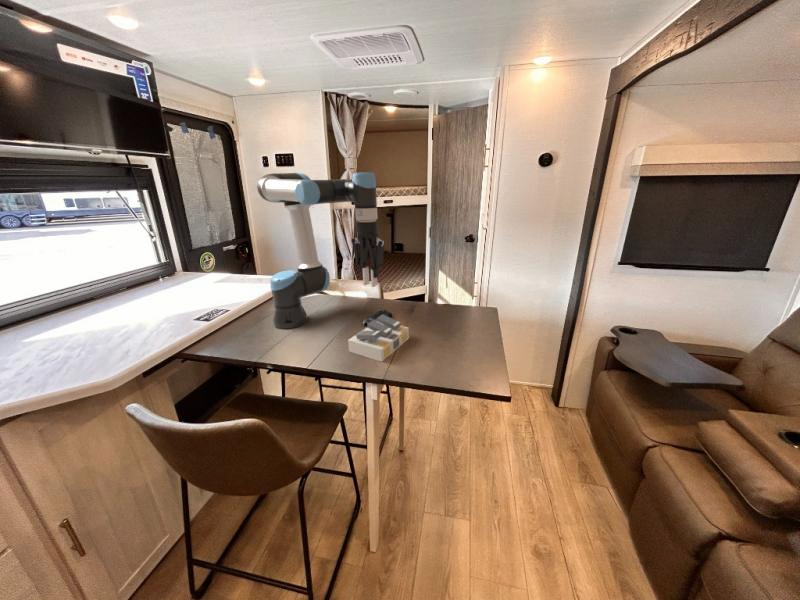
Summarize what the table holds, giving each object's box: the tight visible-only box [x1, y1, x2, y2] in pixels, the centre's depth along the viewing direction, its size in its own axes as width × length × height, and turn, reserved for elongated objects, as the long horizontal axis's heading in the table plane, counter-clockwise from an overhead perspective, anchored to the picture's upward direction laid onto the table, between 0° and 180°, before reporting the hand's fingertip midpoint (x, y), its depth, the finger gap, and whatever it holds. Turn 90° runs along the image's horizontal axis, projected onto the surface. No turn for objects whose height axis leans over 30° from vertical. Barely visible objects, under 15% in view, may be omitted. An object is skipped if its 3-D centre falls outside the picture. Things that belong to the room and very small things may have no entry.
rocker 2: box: [366, 320, 392, 337], centre depth 120 cm, size 9×4×2 cm, turn 60°
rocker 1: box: [355, 330, 382, 340], centre depth 115 cm, size 9×4×2 cm, turn 59°
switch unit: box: [347, 321, 410, 363], centre depth 122 cm, size 15×20×6 cm
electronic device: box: [362, 309, 395, 329], centre depth 143 cm, size 9×6×15 cm
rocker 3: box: [377, 314, 402, 330], centre depth 126 cm, size 9×4×2 cm, turn 60°
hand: (370, 284), depth 116 cm, fingers open, 3 cm apart
